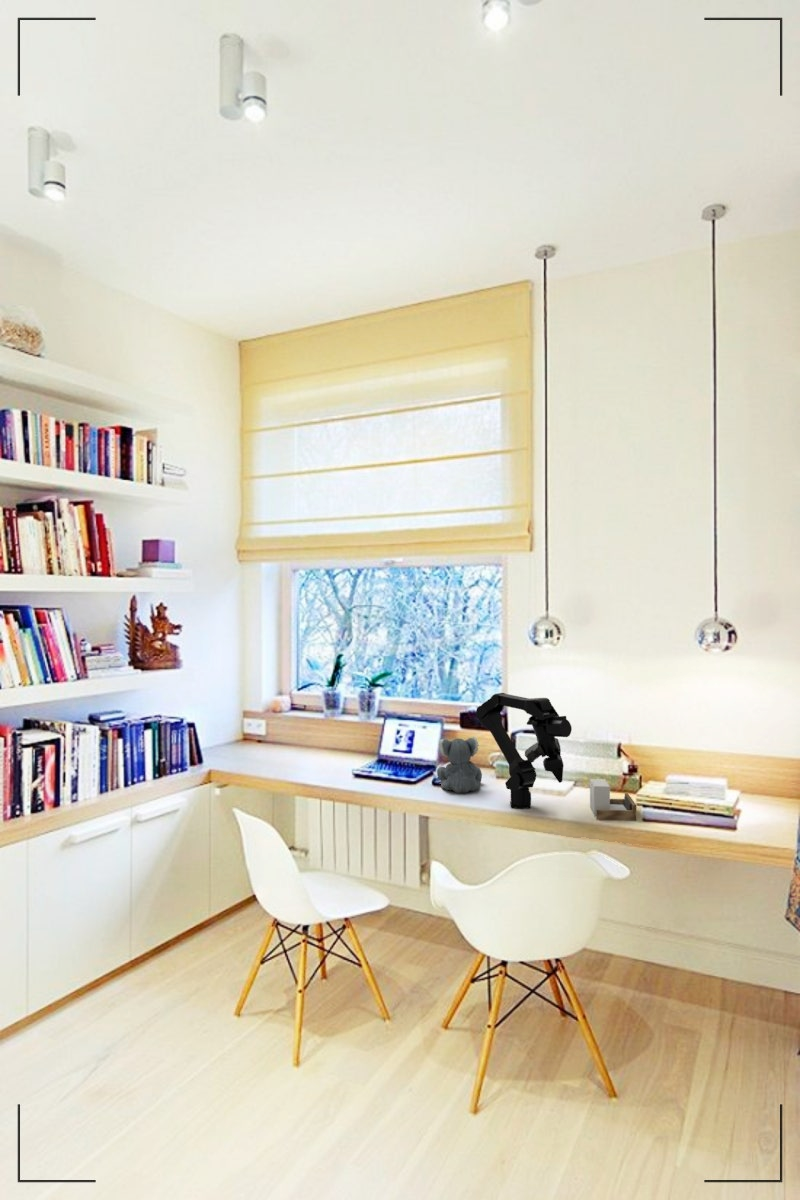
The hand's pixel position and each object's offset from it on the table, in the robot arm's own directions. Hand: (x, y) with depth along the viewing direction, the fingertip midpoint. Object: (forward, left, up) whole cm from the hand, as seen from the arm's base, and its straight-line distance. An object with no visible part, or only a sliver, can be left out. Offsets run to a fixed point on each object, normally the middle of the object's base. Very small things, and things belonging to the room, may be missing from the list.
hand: (559, 775), depth 257 cm
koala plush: (-34, +26, -12) cm, 45 cm away
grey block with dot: (+16, -2, -12) cm, 20 cm away
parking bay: (+17, -3, -12) cm, 21 cm away
